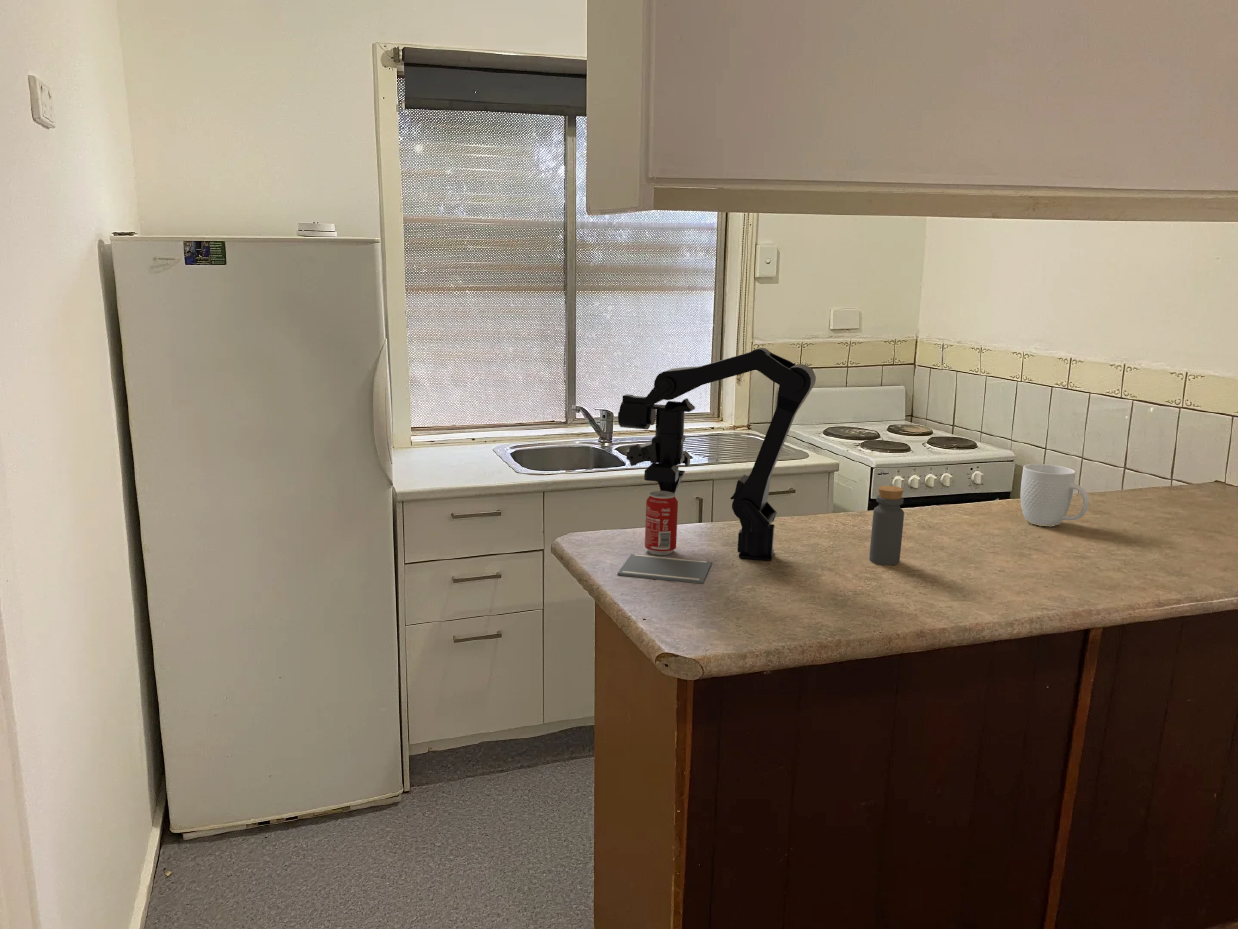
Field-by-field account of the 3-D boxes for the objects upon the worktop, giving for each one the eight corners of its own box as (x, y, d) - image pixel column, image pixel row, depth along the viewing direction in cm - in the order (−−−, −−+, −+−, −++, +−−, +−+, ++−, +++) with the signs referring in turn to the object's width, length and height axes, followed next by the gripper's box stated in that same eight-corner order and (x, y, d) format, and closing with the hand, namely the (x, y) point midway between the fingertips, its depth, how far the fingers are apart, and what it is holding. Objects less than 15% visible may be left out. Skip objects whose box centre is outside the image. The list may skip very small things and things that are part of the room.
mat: (711, 563, 182) (711, 561, 182) (702, 583, 171) (702, 581, 171) (631, 555, 186) (631, 553, 186) (617, 575, 174) (617, 572, 174)
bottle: (901, 559, 188) (908, 487, 185) (896, 567, 183) (904, 493, 180) (871, 555, 190) (878, 483, 187) (866, 563, 185) (873, 489, 182)
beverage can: (676, 547, 192) (678, 490, 189) (675, 557, 186) (677, 498, 183) (645, 546, 192) (647, 489, 190) (643, 555, 186) (645, 497, 184)
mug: (1093, 528, 215) (1101, 472, 212) (1074, 537, 207) (1082, 479, 204) (1028, 514, 225) (1034, 461, 222) (1008, 522, 217) (1015, 467, 215)
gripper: (640, 421, 200) (638, 492, 203) (620, 437, 182) (617, 514, 186) (692, 425, 197) (688, 496, 201) (676, 441, 180) (673, 519, 183)
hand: (666, 506), depth 193 cm, fingers closed
